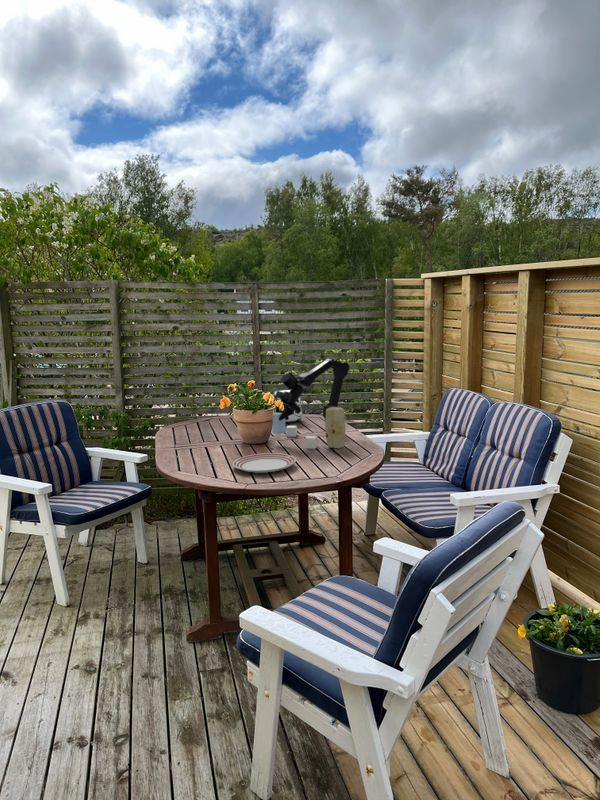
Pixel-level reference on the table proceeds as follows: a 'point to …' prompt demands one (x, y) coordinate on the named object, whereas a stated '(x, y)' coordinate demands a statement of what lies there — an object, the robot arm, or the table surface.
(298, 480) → the table surface
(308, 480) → the table surface
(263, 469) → the dinner plate
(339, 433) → the food model
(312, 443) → the cream cube
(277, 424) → the dusty blue block
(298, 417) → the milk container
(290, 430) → the pale grey cube
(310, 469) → the table surface
